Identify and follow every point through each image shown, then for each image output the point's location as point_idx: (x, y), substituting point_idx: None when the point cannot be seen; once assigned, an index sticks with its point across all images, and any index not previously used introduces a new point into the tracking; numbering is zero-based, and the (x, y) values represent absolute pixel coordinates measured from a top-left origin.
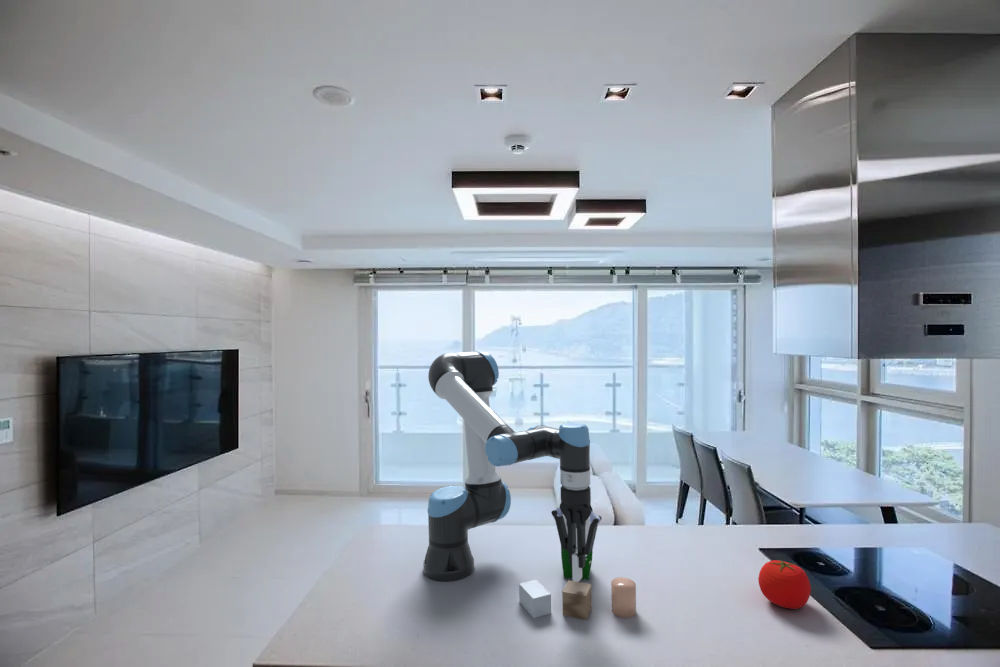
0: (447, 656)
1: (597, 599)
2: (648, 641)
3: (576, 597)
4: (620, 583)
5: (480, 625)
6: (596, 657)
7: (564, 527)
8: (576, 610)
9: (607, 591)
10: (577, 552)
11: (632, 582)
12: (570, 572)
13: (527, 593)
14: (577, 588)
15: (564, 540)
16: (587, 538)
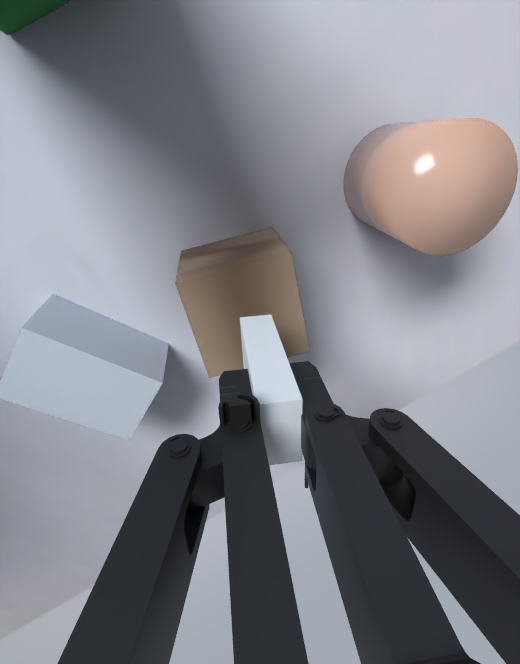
0: (89, 582)
1: (268, 155)
2: (485, 297)
3: None
4: (441, 201)
5: (46, 495)
6: None
7: (145, 650)
8: None
9: (280, 46)
10: (306, 476)
11: (500, 151)
12: (32, 13)
13: (80, 421)
14: None
15: (194, 554)
16: (457, 595)
